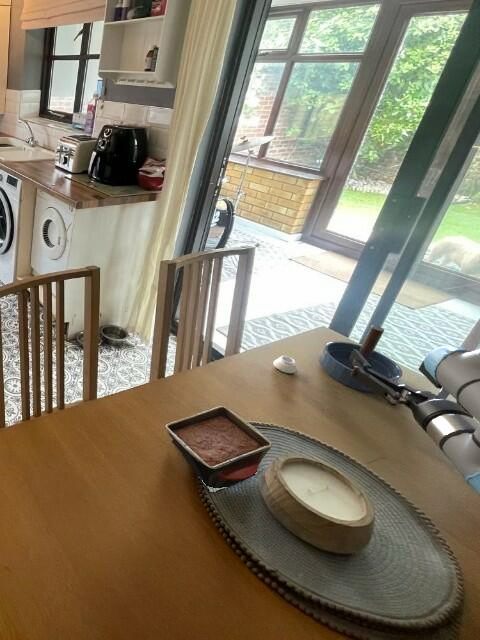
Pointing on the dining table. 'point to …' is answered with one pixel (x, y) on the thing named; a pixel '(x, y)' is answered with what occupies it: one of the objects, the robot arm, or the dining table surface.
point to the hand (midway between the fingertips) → (387, 359)
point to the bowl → (340, 363)
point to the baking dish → (219, 446)
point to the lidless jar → (285, 364)
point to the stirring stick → (370, 342)
